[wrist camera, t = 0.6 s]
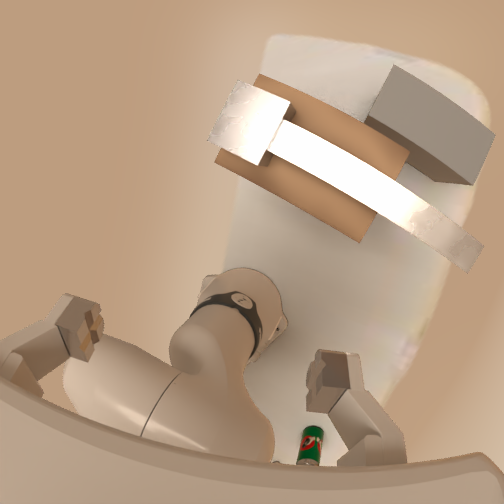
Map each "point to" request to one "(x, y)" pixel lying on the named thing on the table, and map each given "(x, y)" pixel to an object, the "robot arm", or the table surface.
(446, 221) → the link bar
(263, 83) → the brown wooden post
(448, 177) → the pedestal
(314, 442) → the soda can
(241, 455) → the robot arm
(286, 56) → the table surface
